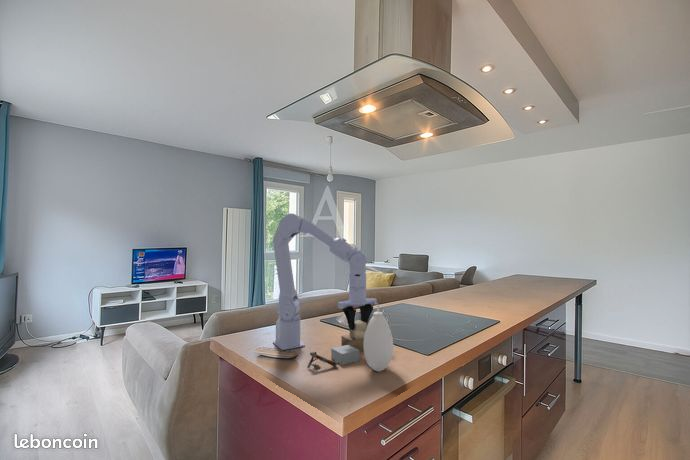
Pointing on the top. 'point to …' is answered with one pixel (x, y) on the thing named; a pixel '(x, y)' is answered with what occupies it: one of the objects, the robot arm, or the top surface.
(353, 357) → the slate grey block
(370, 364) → the sauce bottle
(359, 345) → the tan square slab
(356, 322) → the maple block
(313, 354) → the toy blunderbuss
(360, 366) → the top surface
